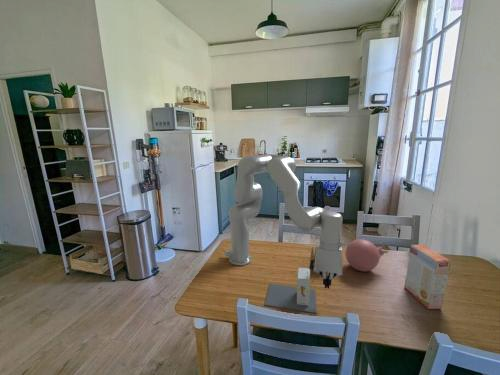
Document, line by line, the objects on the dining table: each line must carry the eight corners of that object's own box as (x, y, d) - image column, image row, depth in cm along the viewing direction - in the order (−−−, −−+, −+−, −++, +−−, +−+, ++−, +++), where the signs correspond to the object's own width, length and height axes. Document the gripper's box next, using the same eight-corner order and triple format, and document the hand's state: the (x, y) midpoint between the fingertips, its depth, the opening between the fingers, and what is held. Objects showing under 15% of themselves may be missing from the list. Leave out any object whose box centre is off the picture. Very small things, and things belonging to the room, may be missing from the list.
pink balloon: (393, 278, 113) (398, 248, 110) (350, 277, 114) (353, 247, 111) (378, 261, 128) (382, 234, 125) (340, 260, 129) (342, 233, 126)
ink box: (297, 291, 104) (298, 266, 102) (308, 292, 103) (310, 267, 101) (296, 304, 96) (297, 278, 93) (308, 306, 95) (310, 279, 92)
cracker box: (442, 309, 93) (452, 260, 89) (427, 310, 93) (436, 261, 88) (416, 286, 107) (424, 243, 102) (403, 287, 107) (410, 244, 102)
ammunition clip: (331, 269, 121) (332, 247, 119) (331, 271, 120) (333, 249, 117) (309, 267, 123) (310, 245, 121) (309, 269, 122) (310, 247, 119)
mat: (264, 305, 96) (264, 304, 96) (269, 284, 110) (270, 283, 110) (316, 313, 92) (316, 312, 92) (315, 290, 105) (315, 289, 105)
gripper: (349, 241, 94) (345, 283, 98) (309, 238, 97) (307, 278, 101) (352, 250, 87) (348, 295, 91) (309, 246, 90) (307, 289, 94)
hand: (326, 286), depth 96 cm, fingers closed
